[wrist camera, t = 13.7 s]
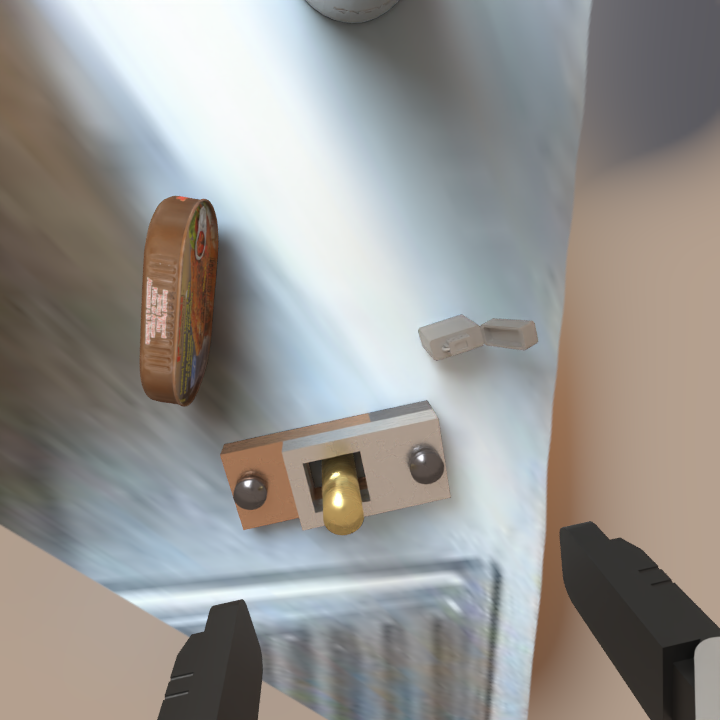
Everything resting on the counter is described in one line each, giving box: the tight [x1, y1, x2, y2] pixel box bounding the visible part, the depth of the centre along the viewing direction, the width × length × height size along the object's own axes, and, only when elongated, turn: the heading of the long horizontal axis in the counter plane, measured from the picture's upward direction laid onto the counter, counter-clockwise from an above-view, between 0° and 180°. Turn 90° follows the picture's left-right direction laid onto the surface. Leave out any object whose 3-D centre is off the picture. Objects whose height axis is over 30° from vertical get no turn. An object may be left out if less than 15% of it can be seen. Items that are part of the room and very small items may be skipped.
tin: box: [140, 196, 218, 407], centre depth 35 cm, size 15×3×8 cm, turn 171°
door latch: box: [220, 401, 451, 530], centre depth 42 cm, size 8×18×5 cm, turn 101°
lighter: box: [418, 314, 538, 361], centre depth 38 cm, size 7×2×8 cm, turn 108°
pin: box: [321, 453, 364, 535], centre depth 40 cm, size 3×3×9 cm
